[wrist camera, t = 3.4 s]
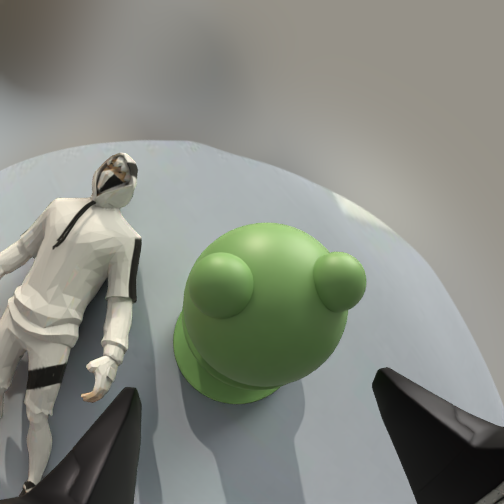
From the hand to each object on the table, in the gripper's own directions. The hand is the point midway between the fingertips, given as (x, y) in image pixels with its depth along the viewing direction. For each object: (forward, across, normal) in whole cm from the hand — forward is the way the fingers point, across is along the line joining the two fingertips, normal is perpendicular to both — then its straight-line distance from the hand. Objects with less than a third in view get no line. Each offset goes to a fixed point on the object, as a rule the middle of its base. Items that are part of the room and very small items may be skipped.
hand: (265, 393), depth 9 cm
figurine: (+9, +14, +6) cm, 18 cm away
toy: (+9, 0, +5) cm, 11 cm away
